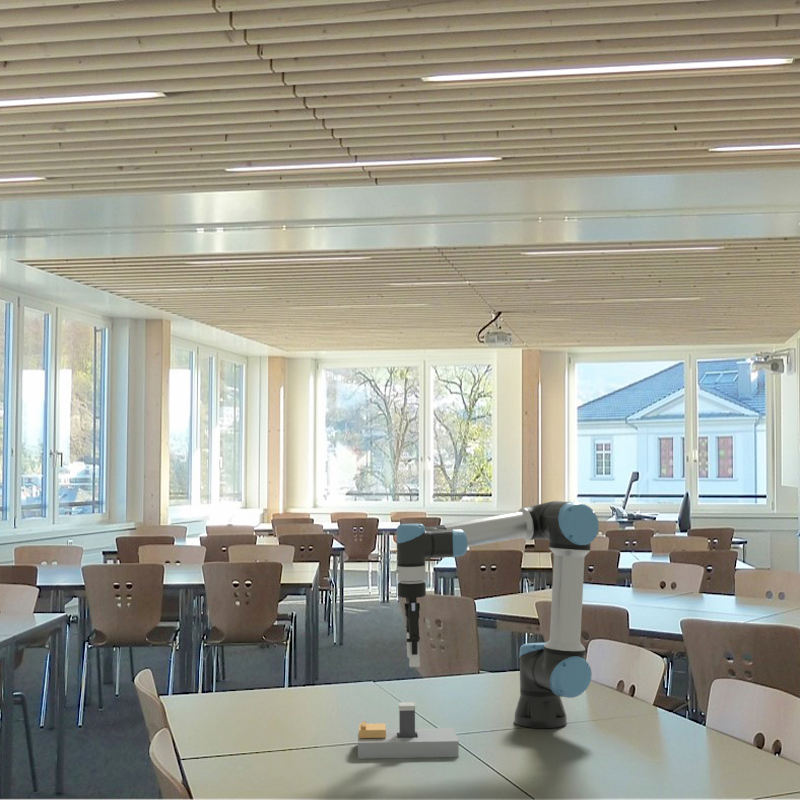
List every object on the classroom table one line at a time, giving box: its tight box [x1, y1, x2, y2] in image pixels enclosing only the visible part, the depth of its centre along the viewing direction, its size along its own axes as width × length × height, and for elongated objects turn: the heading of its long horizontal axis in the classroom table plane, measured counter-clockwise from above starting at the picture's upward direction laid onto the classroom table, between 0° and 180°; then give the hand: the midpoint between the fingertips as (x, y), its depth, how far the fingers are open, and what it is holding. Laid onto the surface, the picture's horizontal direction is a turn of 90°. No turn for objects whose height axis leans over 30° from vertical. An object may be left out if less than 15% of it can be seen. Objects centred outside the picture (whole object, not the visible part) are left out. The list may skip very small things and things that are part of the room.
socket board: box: [357, 727, 460, 759], centre depth 286 cm, size 26×14×4 cm, turn 92°
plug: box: [398, 701, 416, 738], centre depth 286 cm, size 4×4×12 cm
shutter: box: [358, 720, 387, 738], centre depth 286 cm, size 7×7×3 cm
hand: (413, 662), depth 289 cm, fingers open, 13 cm apart
